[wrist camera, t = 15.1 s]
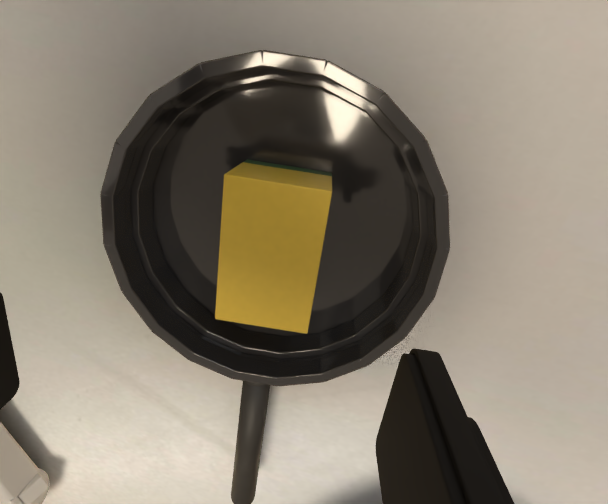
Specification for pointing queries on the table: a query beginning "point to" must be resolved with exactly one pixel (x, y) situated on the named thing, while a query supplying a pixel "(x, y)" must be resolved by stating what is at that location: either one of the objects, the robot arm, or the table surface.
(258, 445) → the pan handle
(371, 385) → the table surface
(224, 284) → the sponge
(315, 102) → the pan
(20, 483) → the game controller
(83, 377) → the table surface
